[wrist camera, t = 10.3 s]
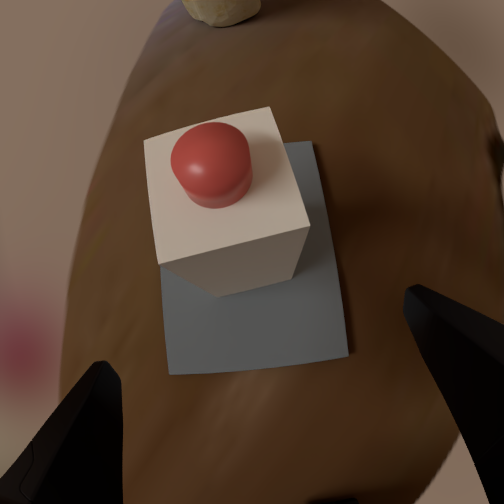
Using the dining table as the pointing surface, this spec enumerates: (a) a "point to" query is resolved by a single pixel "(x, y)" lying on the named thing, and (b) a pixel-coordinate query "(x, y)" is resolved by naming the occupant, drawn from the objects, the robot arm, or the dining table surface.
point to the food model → (222, 10)
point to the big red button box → (226, 203)
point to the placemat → (263, 303)
